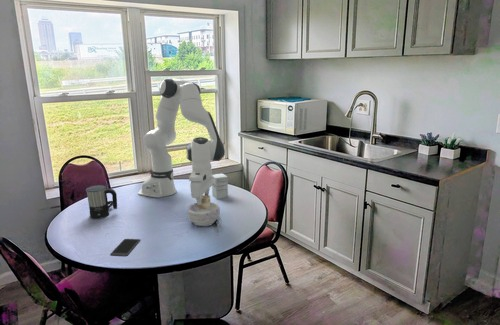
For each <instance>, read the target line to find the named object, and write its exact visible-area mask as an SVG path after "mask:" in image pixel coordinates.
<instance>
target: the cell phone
mask: <svg viewBox="0 0 500 325" xmlns="http://www.w3.org/2000/svg"><path fill="white" fill-rule="evenodd" d="M140 241H141V239H139V238H124V239H123V240H122V241H121V242H120V243H119V244H117V246H116V247H115V248H114V250H112V251H111V252H110V256H112V257H113V256H115V257H116V256H118V257H128V256H129V255H130V254H131V252H132V251H133V250H134V249H135V248H136V246H137V245H138V244H139V243H140Z"/></svg>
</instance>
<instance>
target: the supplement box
mask: <svg viewBox="0 0 500 325" xmlns="http://www.w3.org/2000/svg"><path fill="white" fill-rule="evenodd" d="M212 179H213V184H212V186H211V193H212V196H213V197H214V198H215V199H216V200H219V199H224V198H229V192H228V191H229V190H228V187H229V184H228V183H229V182H228V181H229V180H228V176H227V175H226V174H224V173H216V174H212Z"/></svg>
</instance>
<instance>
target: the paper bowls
mask: <svg viewBox="0 0 500 325" xmlns="http://www.w3.org/2000/svg"><path fill="white" fill-rule="evenodd" d="M187 207H188V208H187V217H188V220H189V221H190V222H192V223H193V224H194V225H196V226H199V227H207V226H211V225H213V224H215V222H216V220H218V219H219V218H220V216H221V213H220V211H221V207H220V205H219V204H218V203H216V202H214V201H213V202H212V201H210V206H209V208H208V209H197V202H193V203H192V204H190V205H189V206H187Z"/></svg>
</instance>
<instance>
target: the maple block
mask: <svg viewBox="0 0 500 325" xmlns="http://www.w3.org/2000/svg"><path fill="white" fill-rule="evenodd" d="M201 200H202V204H201V205H198V203H197V202H196V203H197V209H208V208H209V206H210V202H211V195H209V196H208V195H204V194H203V195H202V196H201Z"/></svg>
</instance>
